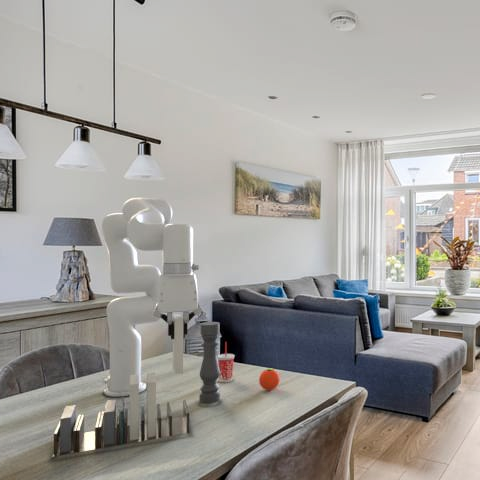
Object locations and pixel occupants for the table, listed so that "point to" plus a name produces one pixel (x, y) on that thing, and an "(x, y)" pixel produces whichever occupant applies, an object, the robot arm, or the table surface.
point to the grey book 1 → (67, 428)
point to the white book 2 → (151, 405)
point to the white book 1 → (134, 407)
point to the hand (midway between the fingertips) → (177, 337)
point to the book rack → (122, 430)
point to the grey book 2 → (109, 422)
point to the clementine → (269, 379)
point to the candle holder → (209, 364)
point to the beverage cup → (225, 366)
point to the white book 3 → (178, 344)
